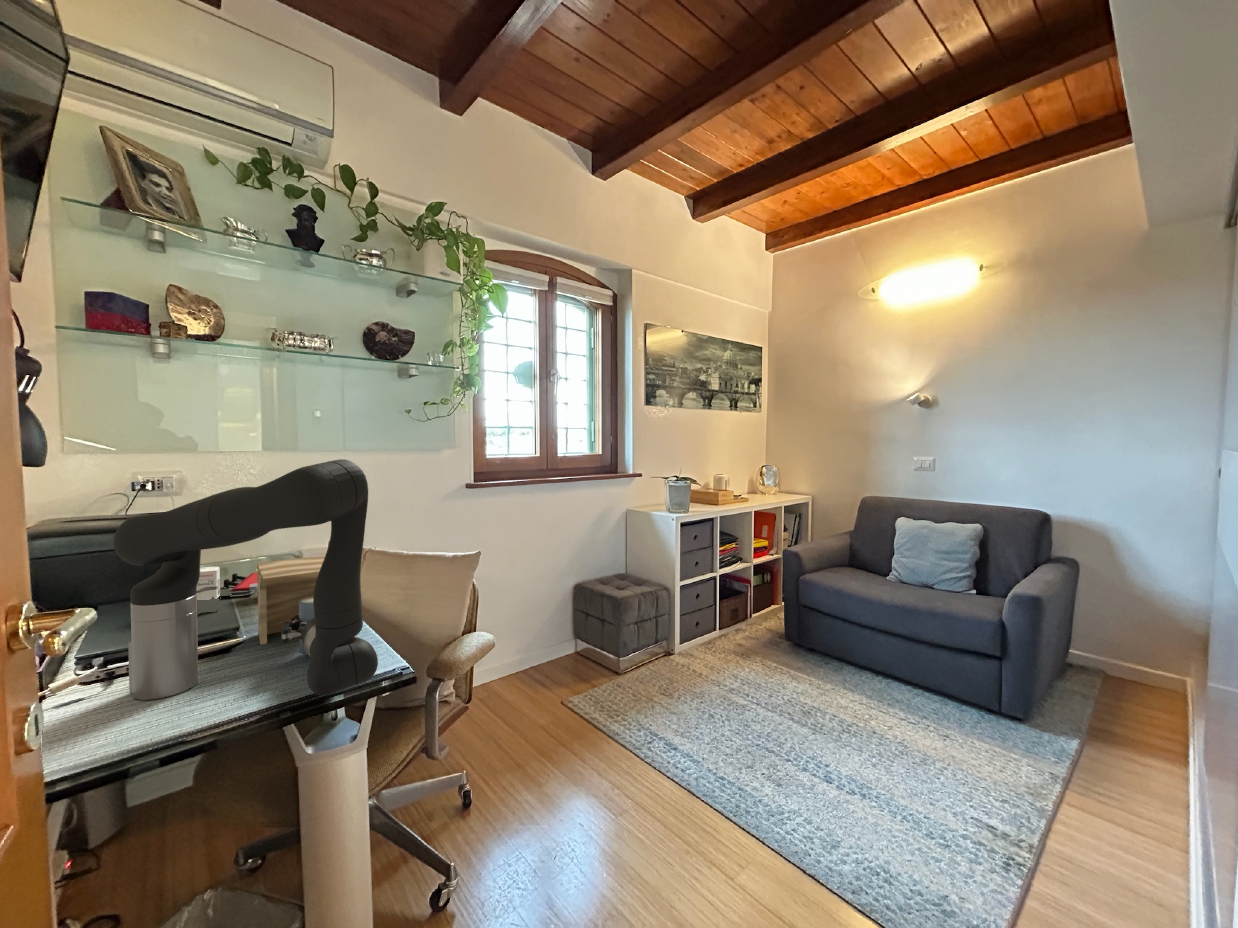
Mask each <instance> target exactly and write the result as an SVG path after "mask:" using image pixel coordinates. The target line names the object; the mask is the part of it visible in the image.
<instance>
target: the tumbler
mask: <svg viewBox="0 0 1238 928" xmlns="http://www.w3.org/2000/svg"><path fill="white" fill-rule="evenodd" d="M299 618H300V620H302V619H310V620H312V619H313V618H315V617H314V605H313V596H312V597H307V598H304V599H301V600H300V601H299ZM298 642H299V651H298V652H299V654H301V655H306V656H309V655H308V653H307V652H306V651H305V648H304V645H303V642H302V640H301V639H298Z"/></svg>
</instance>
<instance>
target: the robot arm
mask: <svg viewBox="0 0 1238 928" xmlns="http://www.w3.org/2000/svg"><path fill="white" fill-rule="evenodd" d="M368 503H369V484H368V479H367V477H366V475H365V473H364V471H363V469H362V468H361V467H360V465H358V464H357V463H355V462H353V461H352V460H349V459H343V458H342V459H334V460H329V461H324V462H319V463H315V464H311V465H305V466H302V467H299V468H297V469H296V468H295V469H294V470H292V471H289V472H287V473H285V474H283V475H282V476H279V477H277V478H275V479H273V480H271V481H269V482H266V483H264V484H261V485H259V486H242V487H237V488H236V487H235V488H231V489H228V490H225V491H221V492H218V493H215V494H212V495H209V496H206V497H203V498H200V499H198V500H194V501H192V502H189V503H186V504H183V505H181V506H177V507H176V508H173V509H170V510H168V511H167V510H166V511H162V512H155V513H146V514H145V513H144V514H139V515H134V516H131V517H129V518H128V519H127V518H126V520H124V521H123V522H122V523H121V524H120V525H119V526H118V527H117V529H116V531H115V532H114V536H113V541H112V542H113V543H112V544H113V550H114V552H115V553H116V555H117V556H118V557H119V558H120V560H122V561H123V562H124V563H125V562H126V563H127V564H129V565H132V566H138V567H139V566H140V567H143V566H150V565H157V564H162V565H161V567H160V568H159V569H158V570H157V571H156V572H155V573H154V574H152V575H151V576H149V577H147V578H146V579H144V580H141V581H140V582H138V583H137V584H135V585H133V587H132V588H131V590H130V593H129V594H130V596H129V597H130V600H129V601H130V627H131V628H130V633H131V634H130V635H131V640H130V641H128V644H127V645H128V680H129V681H128V687H129V688H128V692H129V693H130V694H132V697H133V699H135V700H140V701H146V700H147V701H148V700H149V701H150V700H156V699H163V698H167V697H168V698H169V697H171V696H175V695H178V694H180V693H183V692H186V691H188V690H190V689H192V688H193V687H195V686H196V685H197V684H198V682H199V667H198V666H199V665H198V664H199V654H198V648H199V647H198V644H199V643H198V642H199V641H198V614H197V594H196V593H197V584H198V581H199V577H200V568H201V556H202V550H210V549H216V548H217V549H218V548H226V547H229V546H235V545H238V544H243V543H247V542H250V541H253V540H256V539H259V538H262V537H263V536H266V535H267V534H269V533H271V531H275V530H276V531H277V530H282V529H292V528H300V527H302V528H303V527H312V526H319V525H324V524H326V523H329V522H330V525H331V527H330V537H329V543H328V547H327V548H326V549H327V550H326V553H325V554H324V555H325V558H324V561H323V563H322V566H321V569H320V571H319V574H318V577H317V580H316V583H315V587H314V594H313V605H314V617H315V618H313V619H312V620H310V619H302V620H300V618H299V615H295V616H294V618H291V623H290V622H284V623H283V625H282V632H281V643H283V644H285V643H288V642H289V641H290V640H292V638H297V639H298V640H299V639H301V640H302V642H303V645H304V648H305V651H306V652H307V653H308V655H307V656H309V661H308V667H307V672H306V679H307V685H308V688H309V689H310V691H311V692H312V693H314V694H315V695H317V696H323V697H324V696H327V695H331V694H335V693H338V692H340V691H344V690H347V689H349V688H353V687H355V686H358V685H362V684H365V683H366V682H368V681H369V680H371V679H372V678H373V677H374V676H375V674H376V673H377V670H378V665H379V658H378V655H377V652H376V650H375V648H374V647H373V645H372V644H371V643H370V642H369V641H367V640H365V639H363V638H360V637H356V636H358V634H359V633H360V632H362V629H363V625H364V617H363V601H362V591H361V590H362V589H361V587H362V586H361V572H362V571H361V570H362V557H363V550H364V540H365V534H366V533H365V530H366V522H367V521H366V520H367V513H368V505H369V504H368ZM189 688H190V689H189Z"/></svg>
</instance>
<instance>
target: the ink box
mask: <svg viewBox="0 0 1238 928" xmlns="http://www.w3.org/2000/svg"><path fill="white" fill-rule="evenodd" d="M220 569H221V567H220V566H205V567H203V566H202V567H200V577H199V581H198V584H197V593H196V594H197V600H210V599H217V598H218V597H219V596H220V594H221V579H220V578H221V574H220V572H221V570H220Z"/></svg>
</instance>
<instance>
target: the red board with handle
mask: <svg viewBox="0 0 1238 928" xmlns="http://www.w3.org/2000/svg"><path fill="white" fill-rule="evenodd" d="M238 580H240V582H238ZM230 586H231V587H233V588H231V590H230V591H231V594H232V596H231V597H240V596H241V597H242V596H243V597H244V596H251V595H252V594H253V593H255V592H258V582H257V572H251V573H250V574H249V575H248V576H241V575H238V572H237V573H232V575H231V581H230V579H229V578H225V579H224V580H223V588H224V587H226V589H228V588H230Z"/></svg>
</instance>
